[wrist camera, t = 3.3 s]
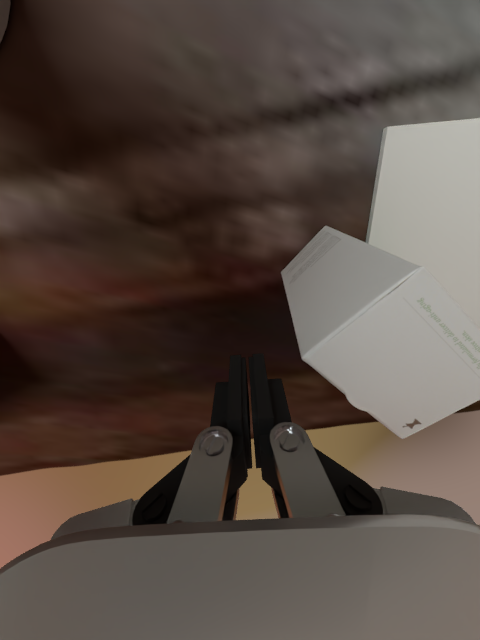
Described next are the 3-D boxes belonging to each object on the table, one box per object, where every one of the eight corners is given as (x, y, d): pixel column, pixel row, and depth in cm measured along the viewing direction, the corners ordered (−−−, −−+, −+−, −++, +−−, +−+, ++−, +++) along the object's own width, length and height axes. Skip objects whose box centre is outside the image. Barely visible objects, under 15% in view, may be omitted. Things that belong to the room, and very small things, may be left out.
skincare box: (377, 277, 24) (535, 380, 11) (327, 319, 27) (403, 446, 13) (323, 221, 22) (435, 258, 8) (274, 272, 25) (299, 365, 11)
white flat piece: (383, 128, 19) (407, 117, 17) (625, 106, 19) (689, 90, 16) (346, 362, 30) (357, 378, 28) (499, 351, 30) (525, 366, 27)
